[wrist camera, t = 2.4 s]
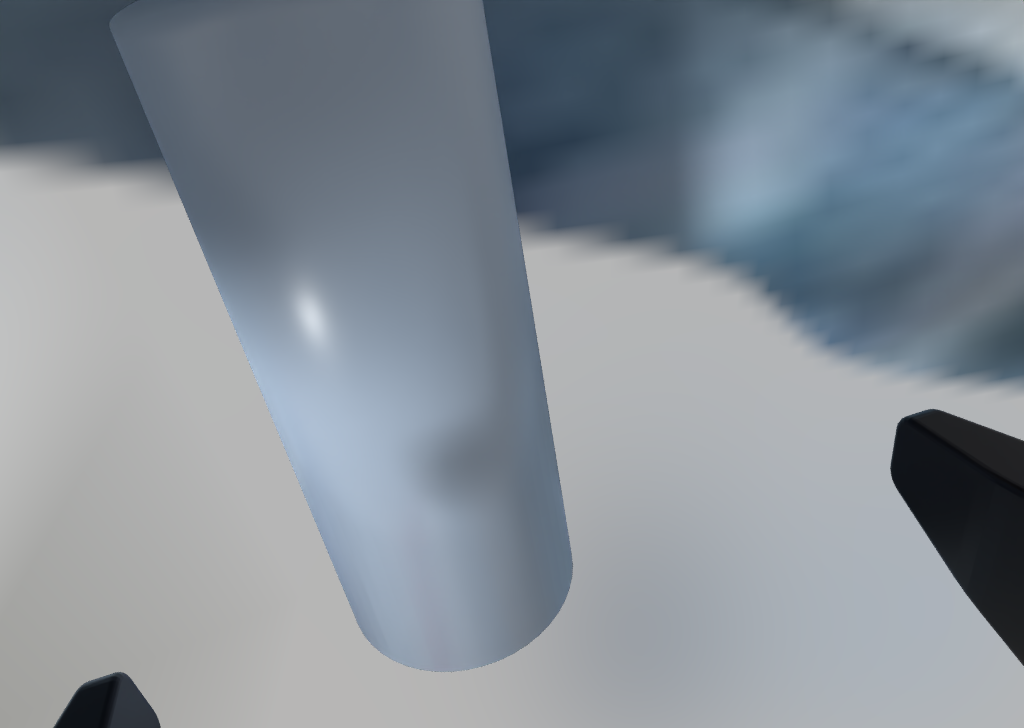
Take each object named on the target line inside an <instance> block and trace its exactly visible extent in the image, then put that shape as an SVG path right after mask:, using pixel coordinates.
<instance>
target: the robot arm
mask: <svg viewBox="0 0 1024 728" xmlns="http://www.w3.org/2000/svg"><path fill="white" fill-rule="evenodd" d="M890 469H891V476H892V480H893V482H894V484H895V486H896V488H897V490H898V491H899V493H900V494H901V496H902V498H903V499H904V501H905V502H906V504H907V505H908V507H909V508H910V510H911V512H912V513H913V514H914V516H915V518H916V519H917V521H918V522H919V524H920V525H921V527H922V528H923V530H924V531H925V533H926V534H927V536H928V538H929V539H930V541H931V542H932V544H933V545H934V547H935V548H936V550H937V551H938V553H939V554H940V556H941V557H942V559H943V561H944V562H945V564H946V565H947V567H948V568H949V570H950V571H951V573H952V574H953V576H954V577H955V579H956V580H957V582H958V583H959V584H960V586H961V587H962V589H963V590H964V592H965V593H966V594H967V596H968V597H969V598H970V600H971V601H972V602H973V604H974V605H975V606H976V607H977V609H978V610H979V611H980V613H981V614H982V615H983V616H984V617H985V618H986V620H987V621H988V622H989V624H990V625H991V626H992V627H993V629H994V630H995V631H996V632H997V634H998V635H999V636H1000V637H1001V638H1002V639H1003V641H1004V642H1005V643H1006V645H1007V646H1008V647H1009V648H1010V650H1011V651H1012V652H1013V653H1014V655H1015V656H1016V657H1017V658H1018V660H1019V661H1020V662H1021V663H1022V665H1023V666H1024V441H1023V440H1020V439H1017V438H1015V437H1012V436H1009V435H1006V434H1004V433H1001V432H998V431H995V430H993V429H990V428H987V427H984V426H982V425H979V424H976V423H974V422H971V421H968V420H965V419H963V418H960V417H957V416H954V415H952V414H949V413H946V412H944V411H940V410H936V409H929V410H925V411H922V412H919V413H915V414H912V415H909V416H906V417H904V418H902V419H901V421H900V422H899V423H898V425H897V429H896V435H895V441H894V448H893V454H892V460H891V468H890ZM53 728H160V723H159V720H158V718H157V715H156V713H155V712H154V710H153V709H152V707H151V706H150V705H149V703H148V702H147V700H146V699H145V698H144V696H143V695H142V693H141V692H140V691H139V690H138V688H137V686H136V685H135V684H134V682H133V681H132V680H131V678H130V677H129V676H128V675H127V674H125V673H122V672H117V673H113V674H110V675H107V676H104V677H100V678H98V679H95V680H91V681H88V682H86V683H84V684H83V685H82V686H81V687H80V688H79V689H78V690H77V691H76V692H75V694H74V695H73V697H72V699H71V700H70V702H69V703H68V705H67V707H66V708H65V710H64V711H63V713H62V715H61V716H60V718H59V719H58V721H57V723H56V724H55V726H54V727H53Z"/></svg>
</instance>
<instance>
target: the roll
mask: <svg viewBox="0 0 1024 728" xmlns="http://www.w3.org/2000/svg"><path fill="white" fill-rule="evenodd" d="M109 27H110V30H111V33H112V35H113V37H114V40H115V42H116V45H117V47H118V49H119V52H120V54H121V57H122V59H123V61H124V64H125V66H126V69H127V71H128V73H129V76H130V78H131V81H132V83H133V85H134V88H135V90H136V93H137V95H138V97H139V100H140V102H141V105H142V107H143V109H144V112H145V114H146V117H147V119H148V121H149V124H150V126H151V129H152V131H153V133H154V136H155V138H156V141H157V143H158V145H159V148H160V150H161V153H162V155H163V157H164V160H165V162H166V165H167V167H168V169H169V172H170V174H171V177H172V179H173V181H174V184H175V186H176V189H177V191H178V193H179V196H180V198H181V201H182V203H183V205H184V208H185V210H186V213H187V215H188V217H189V220H190V222H191V224H192V227H193V229H194V232H195V234H196V236H197V239H198V241H199V244H200V246H201V248H202V251H203V253H204V256H205V258H206V261H207V263H208V265H209V268H210V270H211V272H212V275H213V277H214V280H215V282H216V285H217V287H218V289H219V292H220V294H221V297H222V299H223V301H224V304H225V306H226V308H227V311H228V313H229V316H230V318H231V321H232V323H233V325H234V328H235V330H236V333H237V335H238V337H239V340H240V342H241V344H242V347H243V349H244V352H245V354H246V357H247V359H248V361H249V364H250V366H251V369H252V371H253V373H254V376H255V378H256V381H257V383H258V385H259V388H260V390H261V392H262V395H263V397H264V400H265V402H266V404H267V407H268V409H269V412H270V414H271V417H272V419H273V421H274V424H275V426H276V428H277V431H278V433H279V436H280V438H281V441H282V443H283V445H284V448H285V450H286V453H287V455H288V457H289V459H290V462H291V465H292V467H293V469H294V472H295V474H296V477H297V479H298V481H299V484H300V486H301V489H302V491H303V493H304V496H305V498H306V501H307V503H308V505H309V508H310V510H311V512H312V515H313V517H314V520H315V522H316V524H317V527H318V529H319V532H320V534H321V537H322V539H323V541H324V544H325V546H326V549H327V551H328V553H329V556H330V558H331V561H332V563H333V565H334V568H335V570H336V573H337V575H338V577H339V580H340V582H341V585H342V587H343V589H344V592H345V594H346V597H347V599H348V601H349V604H350V606H351V608H352V611H353V613H354V616H355V618H356V621H357V623H358V625H359V627H360V629H361V631H362V632H363V634H364V636H365V637H366V638H367V640H368V641H369V642H370V643H371V644H372V645H373V646H374V647H375V648H376V649H377V650H378V651H380V652H381V653H382V654H383V655H385V656H387V657H389V658H390V659H392V660H394V661H396V662H398V663H401V664H403V665H405V666H408V667H412V668H416V669H420V670H426V671H435V672H454V671H462V670H469V669H473V668H478V667H482V666H485V665H488V664H491V663H494V662H497V661H499V660H501V659H504V658H506V657H507V656H510V655H512V654H514V653H515V652H517V651H518V650H520V649H522V648H523V647H524V646H526V645H528V644H529V643H530V642H531V641H533V640H534V639H535V638H536V637H538V636H539V635H540V634H541V633H542V632H543V631H544V630H545V629H546V628H547V627H548V626H549V624H550V623H551V622H552V620H553V619H554V618H555V617H556V615H557V614H558V612H559V611H560V609H561V607H562V605H563V603H564V602H565V599H566V597H567V594H568V591H569V588H570V584H571V579H572V569H573V563H572V553H571V547H570V541H569V535H568V529H567V522H566V516H565V510H564V504H563V498H562V491H561V485H560V480H559V473H558V466H557V460H556V454H555V448H554V442H553V435H552V430H551V423H550V417H549V411H548V405H547V398H546V392H545V386H544V380H543V374H542V367H541V361H540V355H539V349H538V343H537V336H536V330H535V324H534V317H533V312H532V305H531V299H530V293H529V286H528V280H527V274H526V268H525V262H524V255H523V249H522V243H521V237H520V230H519V224H518V218H517V212H516V206H515V199H514V193H513V187H512V181H511V175H510V168H509V162H508V156H507V150H506V144H505V137H504V131H503V125H502V119H501V112H500V106H499V100H498V94H497V88H496V81H495V75H494V69H493V63H492V57H491V50H490V44H489V38H488V32H487V26H486V19H485V13H484V7H483V1H482V0H138V1H136V2H134V3H132V4H130V5H128V6H127V7H125V8H124V9H122V10H121V11H119V12H118V13H117V14H116V15H115V16H114V17H113V18H112V19H111V21H110V23H109Z"/></svg>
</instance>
